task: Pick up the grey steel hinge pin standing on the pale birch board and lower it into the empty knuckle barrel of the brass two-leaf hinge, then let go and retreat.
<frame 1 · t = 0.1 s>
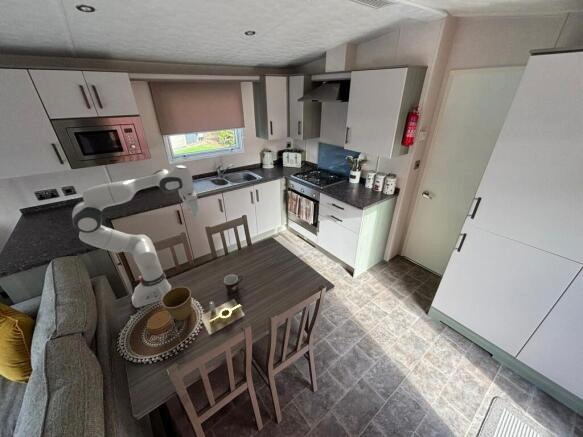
hand: (192, 213, 147), 48 cm above the table, fingers open, 8 cm apart
hinge: (226, 318, 136), resting on board
plant pot: (182, 316, 139), on the table
board: (222, 316, 138), on the table
coffee mug: (235, 290, 156), on the table
pin: (213, 312, 139), point 1 cm above the table, touching board
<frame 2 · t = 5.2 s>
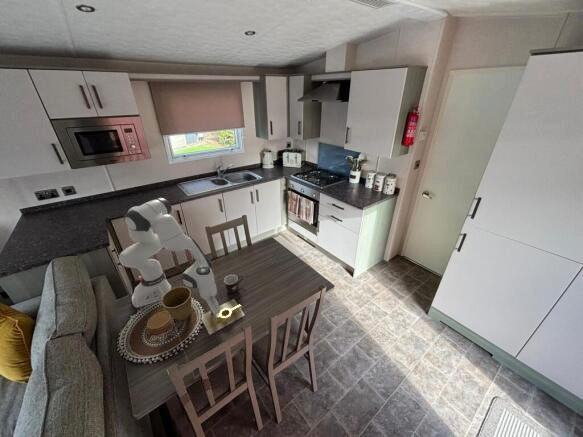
hand: (212, 308, 137), 5 cm above the table, fingers closed on pin, 3 cm apart
pin: (213, 312, 139), point 1 cm above the table, touching board, gripper
everything else where it was.
when the fingers open (7 cm above the table, at t = 9.1 s): pin drops 2 cm, resting on board.
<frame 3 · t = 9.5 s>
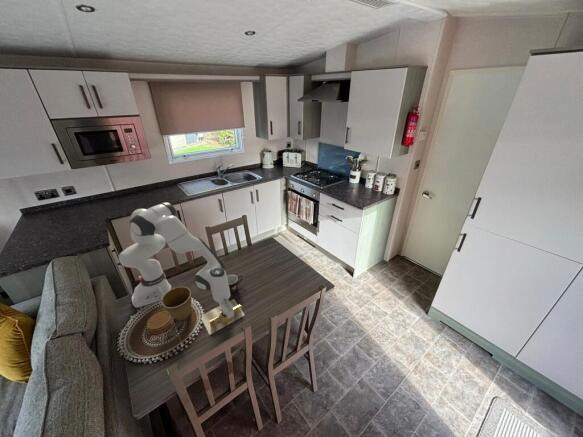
hand: (225, 311, 132), 7 cm above the table, fingers open, 7 cm apart
pin: (226, 318, 136), point 1 cm above the table, touching board
everything else where it was.
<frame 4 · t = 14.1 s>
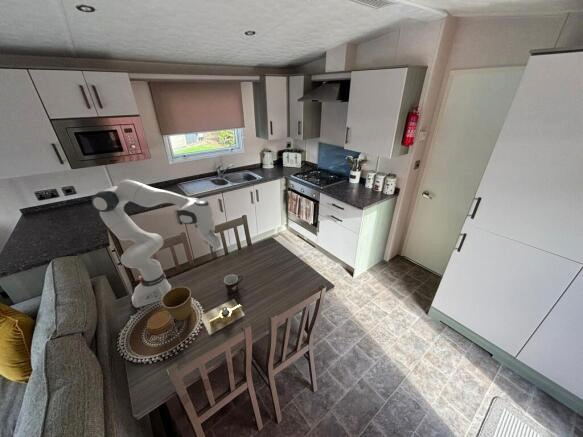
hand: (210, 247, 139), 34 cm above the table, fingers open, 8 cm apart
nothing on the table moved.
at the end: pin 0.2 cm off-centre on the hinge, point 0.0 cm above the hinge's base; pin tilted 1°; the gripper is holding nothing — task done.
